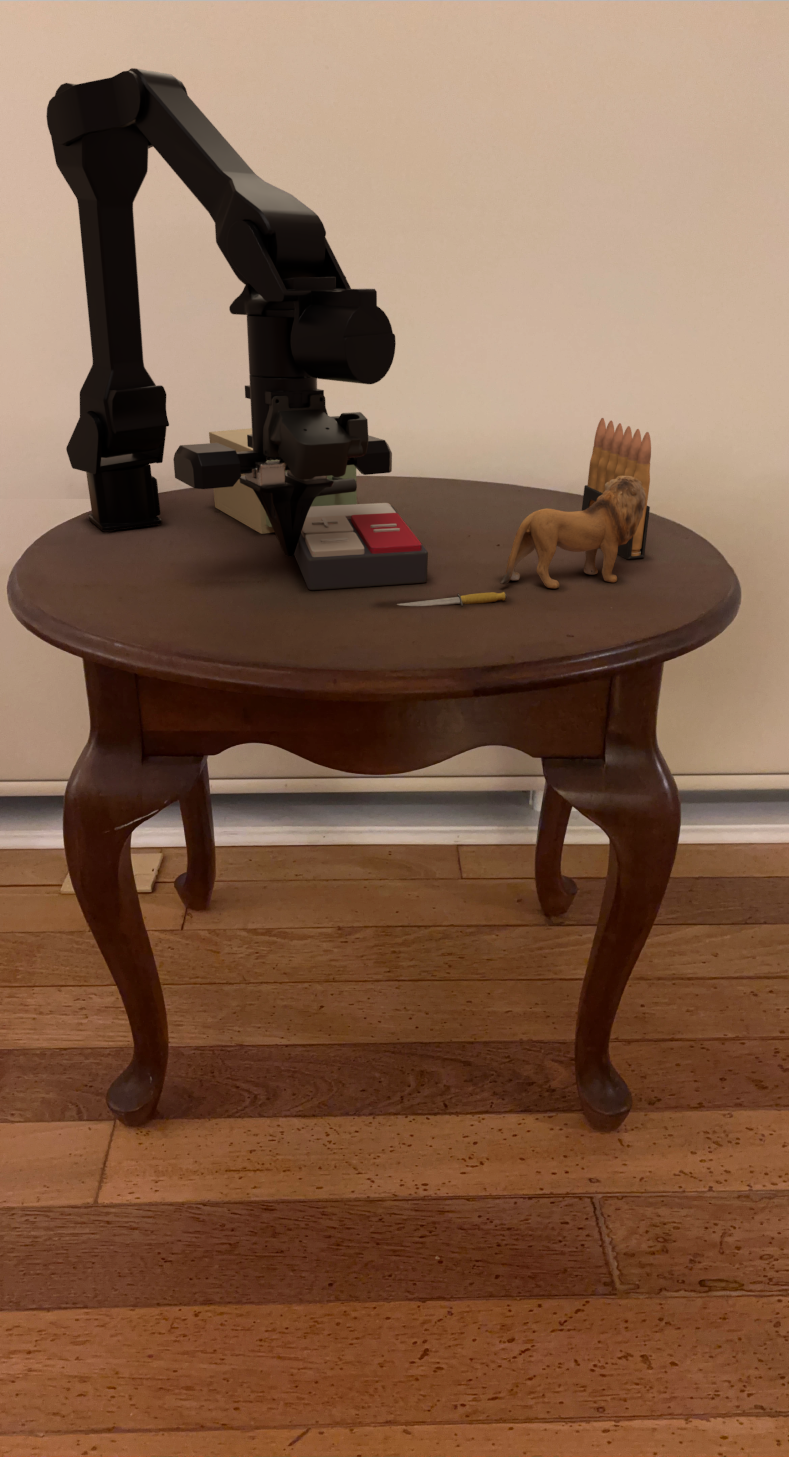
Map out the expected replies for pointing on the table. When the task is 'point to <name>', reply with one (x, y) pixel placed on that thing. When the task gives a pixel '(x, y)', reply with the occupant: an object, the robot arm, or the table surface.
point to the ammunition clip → (620, 474)
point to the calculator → (359, 548)
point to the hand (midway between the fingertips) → (289, 555)
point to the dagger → (461, 599)
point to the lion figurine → (581, 531)
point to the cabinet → (239, 486)
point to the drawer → (336, 491)
